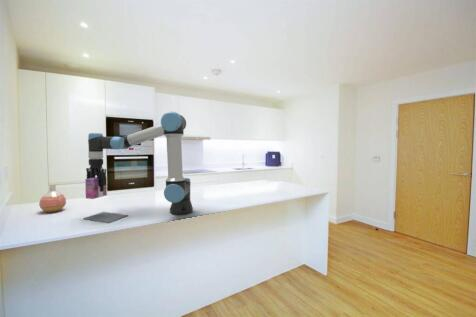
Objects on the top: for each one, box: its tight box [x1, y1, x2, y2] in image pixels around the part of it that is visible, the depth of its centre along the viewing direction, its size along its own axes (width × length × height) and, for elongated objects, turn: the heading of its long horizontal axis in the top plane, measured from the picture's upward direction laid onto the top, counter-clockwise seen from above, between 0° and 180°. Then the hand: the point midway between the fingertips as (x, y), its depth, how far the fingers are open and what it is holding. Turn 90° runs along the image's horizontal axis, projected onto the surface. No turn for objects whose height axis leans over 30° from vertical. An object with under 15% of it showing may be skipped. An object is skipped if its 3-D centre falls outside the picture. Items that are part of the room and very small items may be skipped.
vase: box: [39, 184, 67, 213], centre depth 149 cm, size 14×14×18 cm
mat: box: [82, 211, 129, 224], centre depth 138 cm, size 20×14×1 cm
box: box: [85, 176, 108, 200], centre depth 138 cm, size 10×6×12 cm, turn 168°
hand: (96, 196), depth 139 cm, fingers closed on box, 6 cm apart
